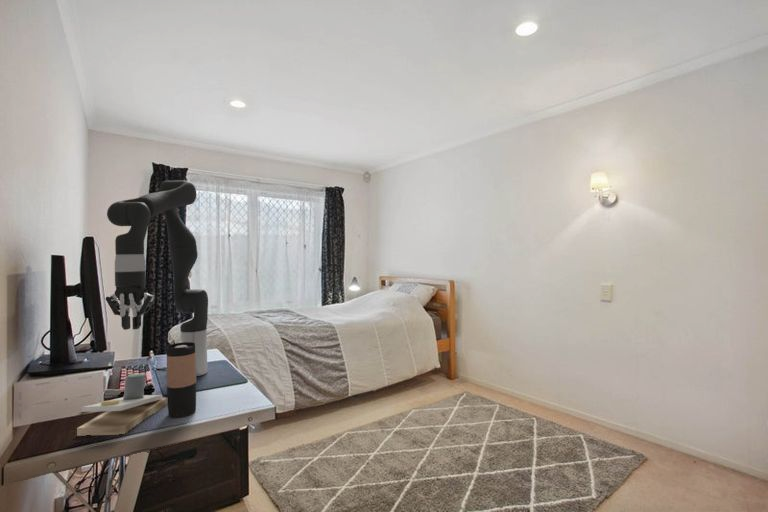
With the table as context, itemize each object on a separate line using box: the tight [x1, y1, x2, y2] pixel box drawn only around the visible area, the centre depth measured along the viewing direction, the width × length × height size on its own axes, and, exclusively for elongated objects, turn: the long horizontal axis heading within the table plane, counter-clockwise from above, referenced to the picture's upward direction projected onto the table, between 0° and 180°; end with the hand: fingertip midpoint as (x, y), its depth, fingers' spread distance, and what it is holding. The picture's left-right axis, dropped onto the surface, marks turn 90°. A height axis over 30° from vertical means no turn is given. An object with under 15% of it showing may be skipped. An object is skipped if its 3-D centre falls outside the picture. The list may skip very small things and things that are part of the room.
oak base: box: [76, 397, 168, 437], centre depth 108 cm, size 20×12×2 cm, turn 1°
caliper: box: [104, 388, 124, 399], centre depth 125 cm, size 20×1×6 cm, turn 154°
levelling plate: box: [81, 373, 163, 413], centre depth 108 cm, size 19×10×8 cm, turn 1°
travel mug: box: [166, 342, 197, 419], centre depth 111 cm, size 8×8×20 cm
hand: (131, 328), depth 111 cm, fingers closed
